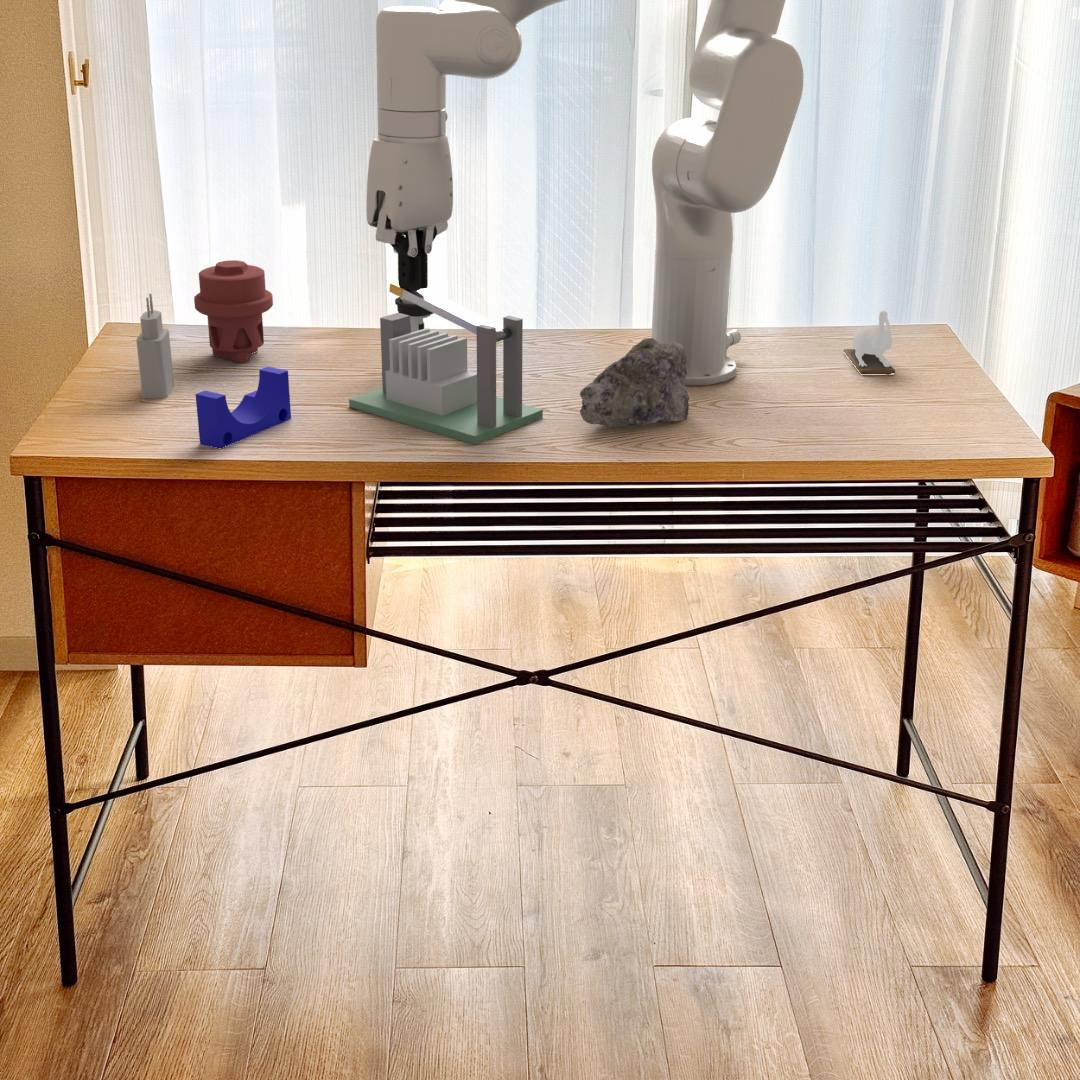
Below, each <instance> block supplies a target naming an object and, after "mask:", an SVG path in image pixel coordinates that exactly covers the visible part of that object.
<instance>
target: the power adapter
mask: <svg viewBox="0 0 1080 1080" xmlns="http://www.w3.org/2000/svg"><path fill="white" fill-rule="evenodd" d="M152 297H153V296H152V293H151V292H150V293H149V297H148V296H147V297H146V298H145V299H146V311H143V313H142V314H141V316H140V317H139V318H140V329H141V331H140V333H139V335H138V337H136V339H135V341H136V348H137V349H136V351H137V357H138V359H137V360H138V368H139V377H140V387H141V397H142V398H143V399H147V398H148V399H166V398H168V397H170V394H171V392H172V390H173V389H174V388H173V387H175V382H174V370H173V369H174V368H173V361H172V350H171V339H170V338H171V337H170V330H169V329H168V328H164V327H163V317H162V311H159V310H155V309H154V304H153V299H152Z"/></svg>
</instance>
